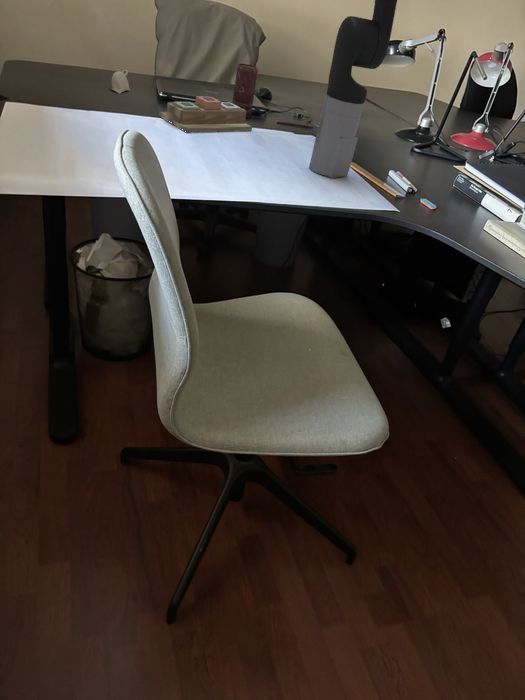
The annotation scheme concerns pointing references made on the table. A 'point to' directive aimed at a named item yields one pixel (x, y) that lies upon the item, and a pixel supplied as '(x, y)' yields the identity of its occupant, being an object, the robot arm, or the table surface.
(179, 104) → the sage key
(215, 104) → the terracotta key
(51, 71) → the table surface
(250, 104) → the can
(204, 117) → the keypad board
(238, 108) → the cream key
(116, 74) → the decorative ornament
